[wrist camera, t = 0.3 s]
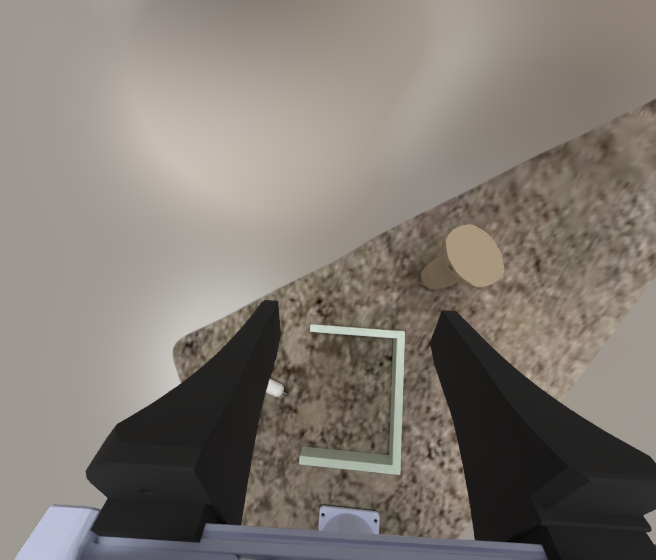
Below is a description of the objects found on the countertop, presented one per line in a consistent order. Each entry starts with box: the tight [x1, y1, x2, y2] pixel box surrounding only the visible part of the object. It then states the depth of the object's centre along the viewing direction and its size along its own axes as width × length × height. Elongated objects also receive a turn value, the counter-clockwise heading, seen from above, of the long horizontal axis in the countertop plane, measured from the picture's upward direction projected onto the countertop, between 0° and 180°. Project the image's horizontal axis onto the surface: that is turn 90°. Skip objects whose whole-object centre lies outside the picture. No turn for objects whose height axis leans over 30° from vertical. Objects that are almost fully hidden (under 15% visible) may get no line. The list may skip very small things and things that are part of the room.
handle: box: [420, 225, 504, 290], centre depth 36 cm, size 5×6×15 cm
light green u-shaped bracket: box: [299, 324, 405, 475], centre depth 40 cm, size 18×13×3 cm
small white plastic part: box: [266, 379, 288, 397], centre depth 40 cm, size 4×6×3 cm, turn 39°
